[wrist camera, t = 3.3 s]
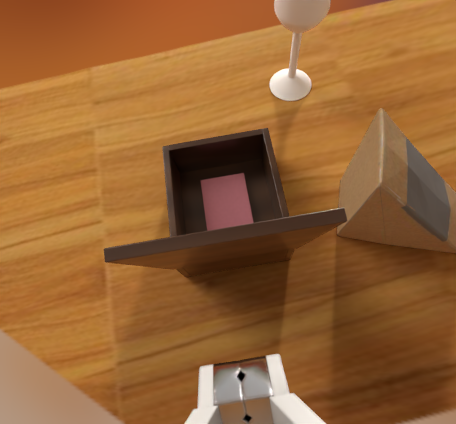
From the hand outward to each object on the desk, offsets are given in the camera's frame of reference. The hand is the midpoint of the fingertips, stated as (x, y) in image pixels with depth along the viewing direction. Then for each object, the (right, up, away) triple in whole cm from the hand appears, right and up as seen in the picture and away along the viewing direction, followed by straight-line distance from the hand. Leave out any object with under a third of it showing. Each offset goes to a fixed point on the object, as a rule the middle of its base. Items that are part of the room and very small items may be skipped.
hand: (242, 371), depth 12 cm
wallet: (-1, +6, +31) cm, 31 cm away
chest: (0, +6, +31) cm, 32 cm away
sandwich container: (+22, +5, +29) cm, 37 cm away
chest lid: (0, +3, +14) cm, 14 cm away
